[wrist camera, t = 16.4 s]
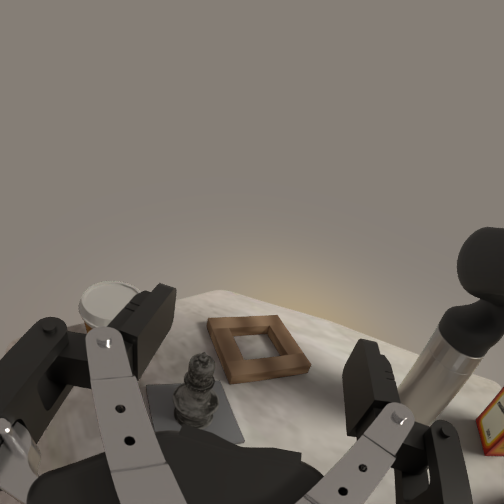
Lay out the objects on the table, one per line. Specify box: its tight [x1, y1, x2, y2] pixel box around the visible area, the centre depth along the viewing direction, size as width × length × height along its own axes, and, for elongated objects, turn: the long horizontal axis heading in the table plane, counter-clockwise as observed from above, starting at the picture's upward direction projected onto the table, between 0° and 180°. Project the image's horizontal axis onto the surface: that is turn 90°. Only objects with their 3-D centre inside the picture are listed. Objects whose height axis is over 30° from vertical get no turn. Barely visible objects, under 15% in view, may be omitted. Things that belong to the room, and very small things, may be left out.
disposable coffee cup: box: [79, 281, 141, 333], centre depth 39 cm, size 10×10×12 cm
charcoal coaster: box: [146, 380, 245, 444], centre depth 37 cm, size 11×11×1 cm
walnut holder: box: [207, 315, 311, 384], centre depth 52 cm, size 14×14×2 cm
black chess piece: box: [173, 352, 219, 429], centre depth 34 cm, size 6×6×12 cm
